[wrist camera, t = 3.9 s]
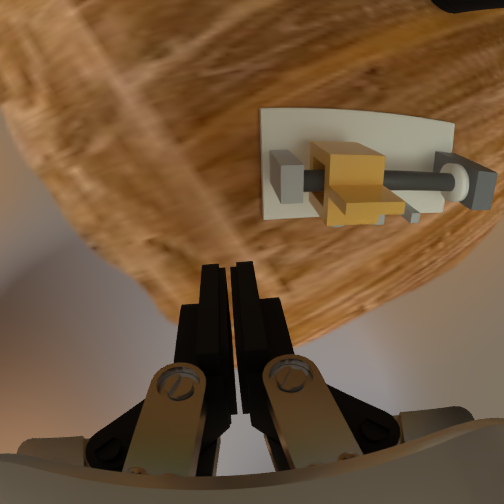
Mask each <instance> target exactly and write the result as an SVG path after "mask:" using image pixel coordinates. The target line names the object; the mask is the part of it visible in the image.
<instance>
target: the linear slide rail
mask: <svg viewBox="0 0 504 504" xmlns="http://www.w3.org/2000/svg"><path fill="white" fill-rule="evenodd" d="M259 115H260V147H261V182H262V215H263V219H264V220H270V219H286V218H304V217H320V216H319V215H318V213H317V212H316V210H315V209H314V208H313V206H312V205H311V203H310V202H309V192H318V191H324V184H325V170H310V141H333V142H358V143H360V144H362V145H364V146H366V147H368V148H371V149H373V150H375V151H377V152H379V153H381V154H383V155H385V156H386V157H385V168H384V178H383V186H385V187H386V188H387V189H389V190H390V191H392V192H393V193H394V194H396V195H397V196H398V197H400V198H401V199H403V200H404V201H405V202H406V203H405V210H404V214H400V215H401V216H403V217H404V218H405V219H406V220H407V221H408V222H410V223H419V218H420V213H435V212H443V207H444V201H445V199H446V200H447V201H450V202H460V203H462V204H463V205H465V206H466V207H468V208H469V209H471V210H490V208H491V204H492V199H493V194H494V189H495V184H496V179H497V173H496V172H494V171H492V170H490V169H488V168H486V167H484V166H482V165H480V164H478V163H475V162H473V161H471V160H469V159H467V158H464V157H462V156H460V155H457V154H455V153H452V147H453V137H454V126H455V124H454V123H450V122H446V121H441V120H435V119H429V118H423V117H416V116H409V115H401V114H393V113H384V112H374V111H363V110H349V109H332V108H294V107H282V108H259ZM384 218H385V215H379V220H378V223H376V224H374V225H382V224H384ZM332 227H343V225H337V226H332Z"/></svg>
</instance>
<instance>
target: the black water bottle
mask: <svg viewBox="0 0 504 504" xmlns="http://www.w3.org/2000/svg"><path fill="white" fill-rule="evenodd" d="M432 1H433V3H434V4H436V5H437V6H438V7H439V8H440V9H442V10H444V11H446V12H449V13H460V12H468V11H475V10H484V9H495V8H504V0H432Z"/></svg>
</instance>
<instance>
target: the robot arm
mask: <svg viewBox="0 0 504 504" xmlns="http://www.w3.org/2000/svg"><path fill="white" fill-rule="evenodd" d="M236 265H237V267H230V271H231V287H232V303H233V318H234V332H235V346H236V357H237V366H238V375H239V383H240V393H241V401H242V410H243V414H248V413H250V418H251V424H252V426H253V427H255V428H256V429H258V430H259V431H261V432H262V433H264V438H265V441H266V445H267V448H268V451H269V453H270V456H271V459H272V462H273V465H274V468H275V471H276V472H270V473H261V474H250V475H236V476H216V471H217V463H218V456H219V449H220V442H221V439H220V436H221V435H222V434H223V433H224V432H225V431H226V430H227V429H228V428H229V427H230V424H231V415H235V414H237V402H236V388H235V374H234V360H233V344H232V330H231V320H230V311H229V301H228V291H227V281H226V271H225V268H219V264H208V265H202V272H201V284H200V297H199V304H185V305H182V306H181V310H180V317H179V325H178V332H177V340H176V349H175V356H174V363H173V364H170V365H167V366H165V367H163V368H161V369H160V370H159V371H158V372H157V373H156V374H155V375H154V377H153V379H152V381H151V384H150V386H149V389H148V392H147V395H146V398H145V399H144V400H143V401H141V402H140V403H139V404H137V405H136V406H134V407H133V408H132V409H130V410H129V411H127V412H126V413H124V414H123V415H122V416H120V417H119V418H117V419H116V420H114V421H113V422H111V423H110V424H109V425H107V426H106V427H104V428H103V429H101V430H100V431H98V432H97V433H96V434H94V436H92V437H91V438H90V439H85V438H84V437H83V436H76V437H59V438H32V439H28V440H26V441H24V442H23V443H22V444H21V445H20V447H19V448H18V451H17V454H9V453H6V454H0V504H504V418H487V419H478V420H474V418H473V416H472V414H471V413H470V412H469V411H468V410H466V409H465V408H462V407H458V406H457V407H455V406H453V407H445V408H437V409H429V410H420V411H409V412H400V414H399V415H395V416H392V415H390V414H388V413H387V412H385V411H383V410H381V409H378V408H376V407H374V406H372V405H370V404H367V403H365V402H363V401H361V400H359V399H357V398H354V397H352V396H350V395H348V394H346V393H344V392H342V391H340V390H338V389H335V388H334V387H331V386H329V385H327V384H326V383H325V381H324V379H323V377H322V375H321V373H320V371H319V370H318V368H317V366H316V365H315V364H314V363H313V362H312V361H311V360H309V359H308V358H306V357H303V356H300V355H295V354H294V351H293V347H292V343H291V339H290V335H289V332H288V328H287V324H286V320H285V316H284V313H283V309H282V305H281V301H280V299H279V297H277V298H266V299H259V294H258V289H257V283H256V278H255V272H254V267H253V261H247V262H236Z"/></svg>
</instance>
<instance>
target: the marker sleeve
mask: <svg viewBox="0 0 504 504" xmlns="http://www.w3.org/2000/svg"><path fill="white" fill-rule="evenodd" d="M385 157H386V156H385V155H383V154H381V153H379V152H377V151H375V150H373V149H371V148H368V147H366V146H364V145H362V144H360V143H358V142H333V141H310V170H325V184H324V191H318V192H309V202H310V203H311V205H312V206H313V208H314V209H315V210H316V212H317V213H318V215H319V216H320V217H321V219H322V220H323V222H324V223H325V225H326V226H337V225H356V224H376V223H378V220H379V215H388V214H404V210H405V203H406V202H405V201H404V200H403V199H401V198H400V197H398V196H397V195H396V194H394V193H393V192H392V191H390V190H389V189H387V188H386V187H385V186H383V178H384V168H385Z"/></svg>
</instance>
